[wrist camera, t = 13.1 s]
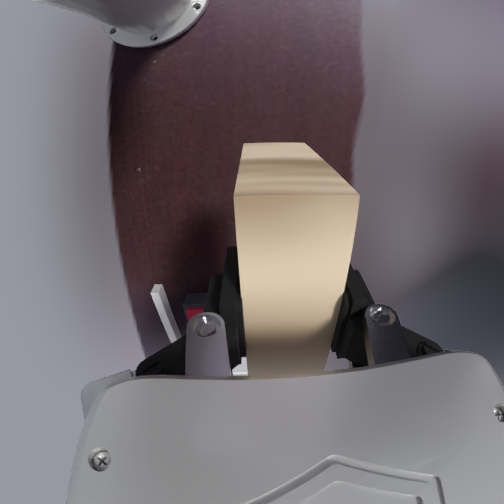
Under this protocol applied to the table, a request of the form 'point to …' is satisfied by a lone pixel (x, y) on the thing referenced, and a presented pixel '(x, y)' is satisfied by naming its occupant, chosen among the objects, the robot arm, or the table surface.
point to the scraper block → (291, 255)
